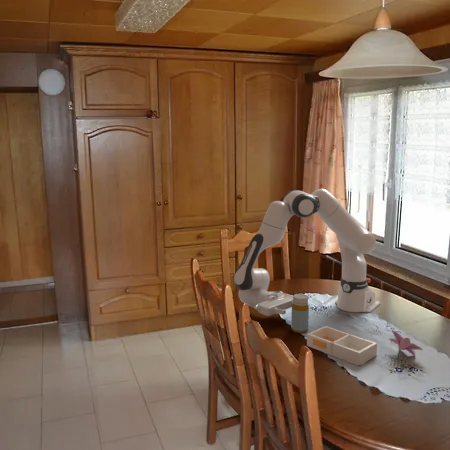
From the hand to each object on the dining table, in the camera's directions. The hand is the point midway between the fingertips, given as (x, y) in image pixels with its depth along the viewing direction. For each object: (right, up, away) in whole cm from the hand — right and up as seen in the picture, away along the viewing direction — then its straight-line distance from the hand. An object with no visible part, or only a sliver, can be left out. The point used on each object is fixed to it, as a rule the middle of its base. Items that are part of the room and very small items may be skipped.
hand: (291, 309), depth 202 cm
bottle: (+3, -9, -2) cm, 9 cm away
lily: (+38, -13, -26) cm, 48 cm away
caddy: (+16, -12, -21) cm, 29 cm away
